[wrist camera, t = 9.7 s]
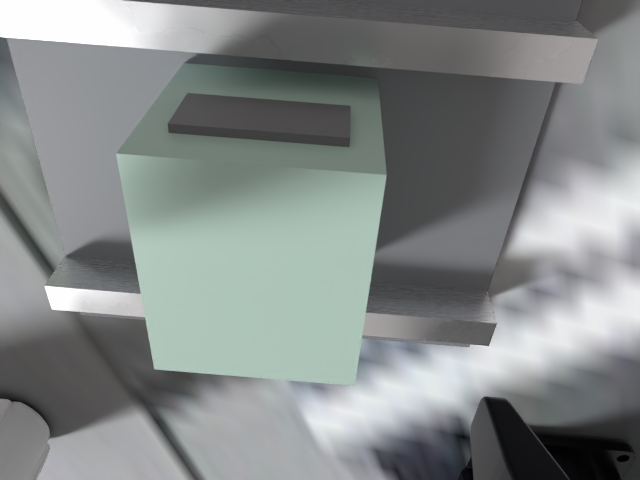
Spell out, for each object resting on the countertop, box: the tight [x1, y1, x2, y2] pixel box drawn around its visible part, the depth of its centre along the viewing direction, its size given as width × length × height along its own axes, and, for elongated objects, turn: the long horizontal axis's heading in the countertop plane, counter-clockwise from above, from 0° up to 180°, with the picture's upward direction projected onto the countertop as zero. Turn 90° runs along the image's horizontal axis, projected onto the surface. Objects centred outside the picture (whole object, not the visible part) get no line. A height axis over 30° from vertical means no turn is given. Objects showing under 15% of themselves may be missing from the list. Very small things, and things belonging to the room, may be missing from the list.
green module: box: [116, 63, 387, 386], centre depth 14 cm, size 5×6×5 cm
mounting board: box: [0, 0, 598, 347], centre depth 16 cm, size 14×13×2 cm
